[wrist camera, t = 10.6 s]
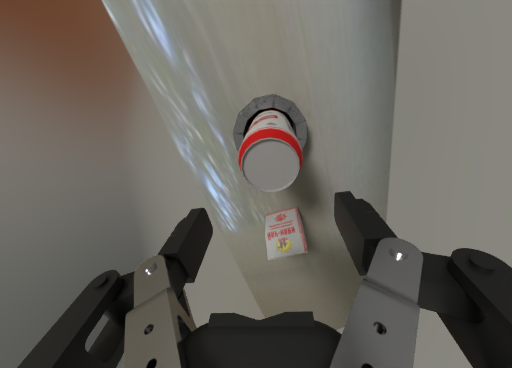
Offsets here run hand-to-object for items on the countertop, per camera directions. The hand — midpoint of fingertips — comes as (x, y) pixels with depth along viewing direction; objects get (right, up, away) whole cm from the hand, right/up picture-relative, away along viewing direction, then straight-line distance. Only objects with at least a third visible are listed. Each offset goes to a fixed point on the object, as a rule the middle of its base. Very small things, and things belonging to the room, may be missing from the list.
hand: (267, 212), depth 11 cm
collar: (+2, +10, +19) cm, 22 cm away
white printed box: (+5, -5, +28) cm, 29 cm away
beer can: (+2, +11, +19) cm, 22 cm away
